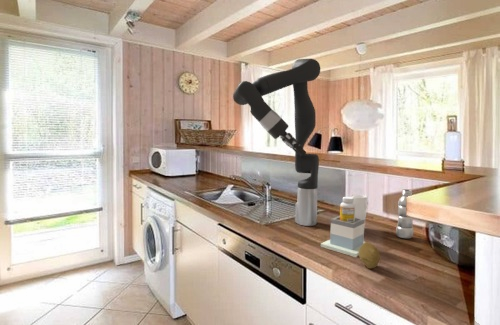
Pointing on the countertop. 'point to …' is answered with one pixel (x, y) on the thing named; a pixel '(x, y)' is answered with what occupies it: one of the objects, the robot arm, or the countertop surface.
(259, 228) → the countertop surface
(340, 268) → the countertop surface
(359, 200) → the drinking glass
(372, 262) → the potato
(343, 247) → the brick tower
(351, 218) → the supplement bottle
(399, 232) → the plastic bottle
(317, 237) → the countertop surface
